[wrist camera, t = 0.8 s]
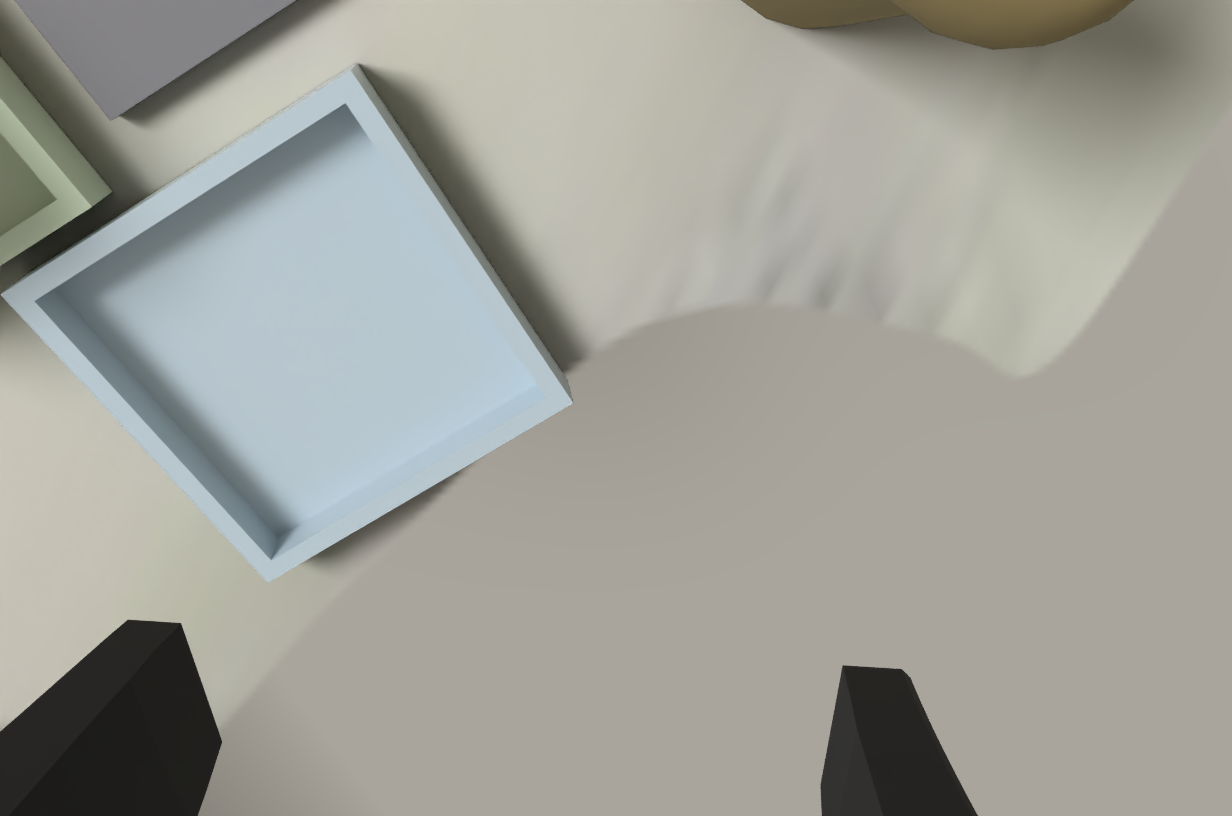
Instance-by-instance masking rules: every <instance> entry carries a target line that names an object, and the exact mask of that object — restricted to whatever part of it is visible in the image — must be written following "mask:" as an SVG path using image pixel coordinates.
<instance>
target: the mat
mask: <svg viewBox="0 0 1232 816" xmlns="http://www.w3.org/2000/svg"><path fill="white" fill-rule="evenodd" d="M14 1H15V2H16V3H17V4H18V6H19V7H20V8H21V9H22V11H23V12H24V13H25V14H26V16H27V17H28V18H29V19H30V21H31V22H32V23H33V24H34V26H35V27H36V28H37V29H38V31H39V32H40V33H41V34H42V36H43V37H44V38H45V39H46V41H47V42H48V43H49V44H50V46H51V47H52V48H53V49H54V51H55V52H56V53H57V54H58V56H59V57H60V58H61V59H62V61H63V62H64V63H65V64H66V66H67V67H68V68H69V69H70V71H71V72H72V73H73V74H74V76H75V77H76V78H77V79H78V81H79V82H80V83H81V84H82V86H83V87H84V88H85V89H86V91H87V92H88V93H89V95H90V96H91V97H92V98H93V100H94V101H95V102H96V103H97V105H98V106H99V107H100V108H101V110H102V111H103V112H104V113H105V115H106V116H107V117H108V118H109V120H110V121H111V120H113V119H115V118H117V117H118V116H120V115H122V114H123V113H125V112H126V111H128V110H129V109H131V108H132V107H134V106H135V105H137V104H138V103H140V102H141V101H143V100H145V99H146V98H148V97H149V96H151V95H152V94H154V93H155V92H157V91H158V90H160V89H161V88H163V87H165V86H166V85H168V84H169V83H171V82H172V81H174V80H175V79H177V78H178V77H180V76H181V75H183V74H184V73H186V72H188V71H189V70H191V69H192V68H194V67H195V66H197V65H198V64H200V63H201V62H203V61H204V60H206V59H207V58H209V57H211V56H212V55H214V54H215V53H217V52H218V51H220V50H221V49H223V48H224V47H226V46H227V45H229V44H231V43H232V42H234V41H235V40H237V39H238V38H240V37H241V36H243V35H244V34H246V33H247V32H249V31H250V30H252V29H254V28H255V27H257V26H258V25H260V24H261V23H263V22H264V21H266V20H267V19H269V18H270V17H272V16H274V15H275V14H277V13H278V12H280V11H281V10H283V9H284V8H286V7H287V6H289V5H290V4H292V3H293V2H295V1H297V0H14Z"/></svg>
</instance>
